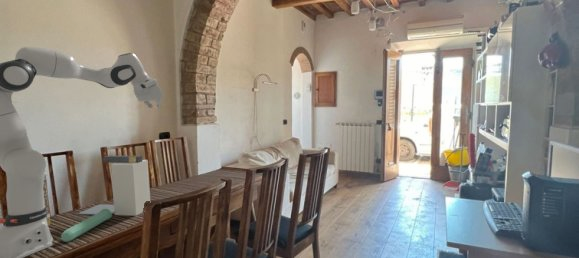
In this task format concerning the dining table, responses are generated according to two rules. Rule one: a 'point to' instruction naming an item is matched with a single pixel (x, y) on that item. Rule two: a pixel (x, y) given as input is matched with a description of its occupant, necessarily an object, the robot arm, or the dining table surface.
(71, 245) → the dining table surface
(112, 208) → the mat
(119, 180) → the pedestal
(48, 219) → the paper tube
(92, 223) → the mint green rounded rod
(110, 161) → the strut
